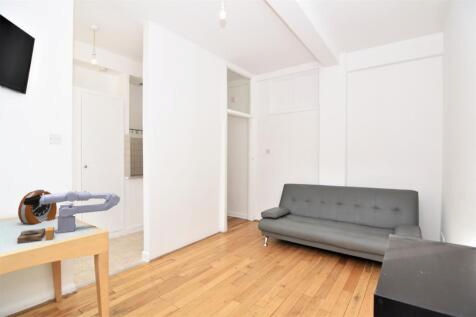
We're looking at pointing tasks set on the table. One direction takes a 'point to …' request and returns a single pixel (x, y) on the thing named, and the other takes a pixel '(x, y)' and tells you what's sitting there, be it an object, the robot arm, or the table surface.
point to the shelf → (31, 235)
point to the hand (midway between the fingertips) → (24, 201)
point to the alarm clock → (36, 210)
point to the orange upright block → (49, 233)
